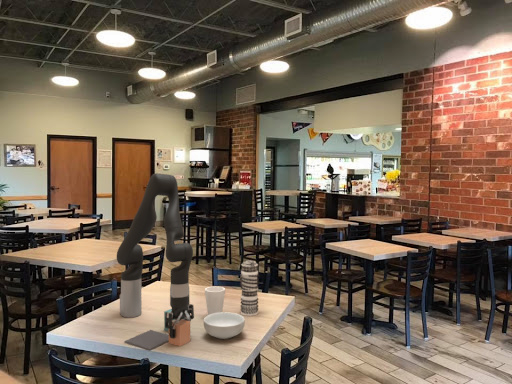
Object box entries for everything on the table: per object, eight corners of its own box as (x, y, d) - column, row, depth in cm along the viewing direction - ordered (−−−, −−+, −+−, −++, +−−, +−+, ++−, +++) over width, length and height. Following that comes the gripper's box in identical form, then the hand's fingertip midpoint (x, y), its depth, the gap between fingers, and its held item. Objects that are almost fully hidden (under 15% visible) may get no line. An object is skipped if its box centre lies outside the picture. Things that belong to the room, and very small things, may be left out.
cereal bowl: (210, 346, 159) (210, 328, 158) (198, 331, 174) (198, 315, 174) (251, 339, 165) (251, 322, 165) (236, 325, 181) (236, 309, 180)
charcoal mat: (124, 342, 162) (124, 341, 162) (150, 331, 174) (150, 329, 174) (149, 350, 154) (149, 349, 154) (175, 338, 166) (175, 336, 166)
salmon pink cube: (168, 342, 162) (168, 322, 161) (179, 337, 167) (178, 318, 166) (180, 346, 158) (180, 325, 158) (190, 341, 164) (190, 321, 163)
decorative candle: (261, 310, 201) (261, 259, 200) (256, 316, 192) (256, 263, 191) (243, 308, 203) (243, 258, 202) (237, 315, 194) (237, 262, 193)
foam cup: (221, 320, 187) (221, 292, 186) (202, 319, 188) (202, 291, 188) (227, 313, 196) (227, 286, 195) (208, 312, 198) (208, 285, 197)
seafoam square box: (164, 330, 175) (164, 311, 175) (174, 325, 180) (174, 307, 180) (174, 332, 172) (174, 314, 172) (184, 328, 177) (184, 310, 177)
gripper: (184, 288, 170) (184, 326, 170) (159, 296, 158) (160, 338, 158) (198, 290, 166) (198, 330, 166) (174, 299, 154) (174, 342, 154)
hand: (180, 334), depth 162 cm, fingers open, 8 cm apart
